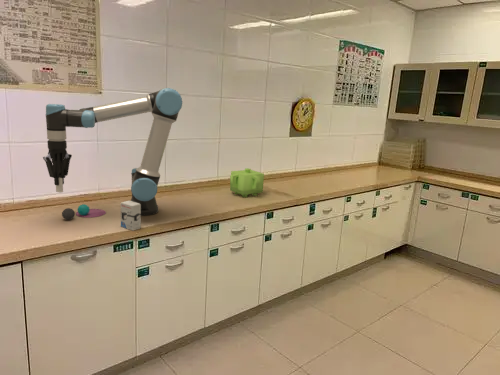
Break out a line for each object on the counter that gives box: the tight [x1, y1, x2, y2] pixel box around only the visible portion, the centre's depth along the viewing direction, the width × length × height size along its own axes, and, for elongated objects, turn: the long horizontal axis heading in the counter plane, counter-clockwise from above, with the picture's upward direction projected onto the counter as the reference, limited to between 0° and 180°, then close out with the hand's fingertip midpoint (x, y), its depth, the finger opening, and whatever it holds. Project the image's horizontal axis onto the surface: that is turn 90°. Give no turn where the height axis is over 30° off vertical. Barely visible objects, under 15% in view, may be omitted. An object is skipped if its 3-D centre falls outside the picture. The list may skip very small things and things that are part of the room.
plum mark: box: [75, 208, 107, 218], centre depth 191 cm, size 14×14×1 cm
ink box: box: [120, 200, 142, 231], centre depth 173 cm, size 8×5×12 cm, turn 56°
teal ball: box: [76, 203, 91, 216], centre depth 186 cm, size 6×6×6 cm
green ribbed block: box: [229, 168, 265, 198], centre depth 246 cm, size 25×23×17 cm
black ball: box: [61, 207, 76, 221], centre depth 179 cm, size 6×6×6 cm
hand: (59, 191), depth 172 cm, fingers closed
